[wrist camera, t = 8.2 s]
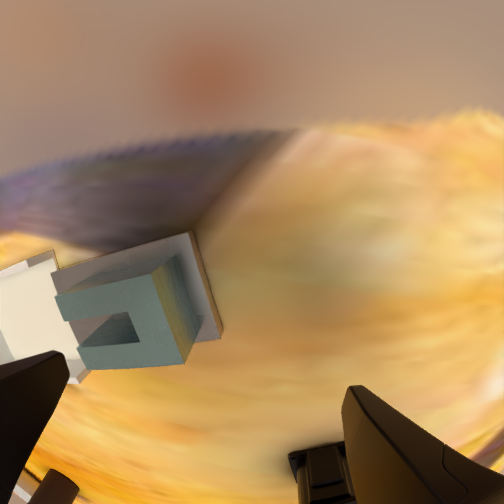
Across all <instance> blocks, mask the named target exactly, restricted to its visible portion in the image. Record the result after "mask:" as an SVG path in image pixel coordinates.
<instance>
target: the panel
mask: <svg viewBox="0 0 504 504" xmlns="http://www.w3.org/2000/svg"><path fill="white" fill-rule="evenodd" d="M172 255H176V256H177V259H178V262H179V266H180V269H181V272H182V275H183V279H184V282H185V285H186V288H187V291H188V294H189V297H190V300H191V303H192V306H193V309H194V312H195V315H196V318H197V321H198V324H199V327H200V331H199V333H198V335H197V337H196V340H195V342H194V343H196V342H203V341H209V340H215V339H221V336H222V333H223V327H222V324H221V321H220V318H219V315H218V312H217V309H216V306H215V302H214V299H213V296H212V293H211V290H210V286H209V283H208V280H207V276H206V273H205V270H204V266H203V263H202V259H201V256H200V252H199V249H198V245H197V242H196V238H195V235H194V231H193V230H190V231H186V232H182V233H179V234H175V235H171V236H168V237H164V238H161V239H157V240H153V241H150V242H146V243H143V244H139V245H136V246H132V247H129V248H126V249H122V250H119V251H115V252H112V253H109V254H105V255H102V256H99V257H95V258H92V259H89V260H86V261H83V262H79V263H76V264H73V265H70V266H67V267H64V268H60V269H58V270H56V271H54V272H51V273H50V274H51V277H52V280H53V283H54V286H55V289H56V292H57V294H59V293H61V292H63V291H65V290H66V289H68V288H70V287H72V286H73V285H75V284H77V283H79V282H80V281H82V280H84V279H86V278H88V277H90V276H94V275H98V274H102V273H105V272H109V271H113V270H117V269H121V268H125V267H129V266H132V265H136V264H140V263H144V262H148V261H152V260H156V259H160V258H164V257H168V256H172ZM124 318H130V316H129V313H128V311H127V312H121V313H116V314H110V315H104V316H97V317H91V318H85V319H78V320H72V321H68V322H69V324H70V327H71V329H72V331H73V333H74V336H75V338H76V340H77V342H78V344H79V345H80V344H81V343H82V342H83V341H84V340H85V339H86V338H88V337H89V336H90V335H91V334H92V333H93V332H94V331H95V330H96V329H98V328H99V327H100V326H101V325H102V324H103V323H104V322H105V321H111V320H118V319H124Z"/></svg>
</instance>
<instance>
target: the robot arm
mask: <svg viewBox="0 0 504 504" xmlns="http://www.w3.org/2000/svg"><path fill="white" fill-rule="evenodd" d="M69 378H70V372H69V368H68V365H67V362H66V359H65V356H64V354H63V353H62V352H59V351H56V350H51V351H48V352H44V353H41V354H37V355H34V356H30V357H27V358H23V359H20V360H16V361H13V362H9V363H6V364H2V365H0V504H8V502H9V500H10V498H11V495H12V492H13V490H14V488H15V486H16V483H17V481H18V479H19V477H20V475H21V473H22V471H23V469H24V467H25V464H26V462H27V460H28V458H29V456H30V455H31V453H32V451H33V449H34V447H35V445H36V443H37V441H38V439H39V437H40V436H41V434H42V432H43V430H44V428H45V426H46V425H47V423H48V421H49V419H50V418H51V416H52V414H53V412H54V410H55V408H56V406H57V404H58V402H59V400H60V397H61V395H62V393H63V391H64V389H65V387H66V385H67V382H68V380H69ZM341 413H342V422H343V430H344V439H345V442H342V443H338V444H334V445H329V446H325V447H320V448H316V449H311V450H305V451H300V452H294V453H290V454H289V455H288V460H289V463H290V466H291V469H292V471H293V474H294V477H295V480H296V483H297V485H298V499H299V504H504V475H502V474H500V473H497V472H495V471H493V470H491V469H489V468H486V467H484V466H482V465H480V464H478V463H476V462H474V461H472V460H471V459H469V458H467V457H465V456H464V455H462V454H460V453H459V452H457V451H455V450H454V449H452V448H451V447H449V446H448V445H446V444H444V443H443V442H442V441H440V440H439V439H437V438H436V437H434V436H433V435H431V434H430V433H428V432H427V431H426V430H424V429H423V428H421V427H420V426H418V425H417V424H415V423H414V422H413V421H411V420H410V419H408V418H407V417H405V416H404V415H403V414H401V413H400V412H398V411H397V410H396V409H394V408H393V407H391V406H390V405H389V404H387V403H386V402H385V401H383V400H382V399H380V398H379V397H378V396H376V395H375V394H374V393H372V392H371V391H370V390H368V389H367V388H366V387H364V386H362V385H354V386H349V387H348V388H347V391H346V394H345V398H344V401H343V404H342V410H341Z"/></svg>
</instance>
